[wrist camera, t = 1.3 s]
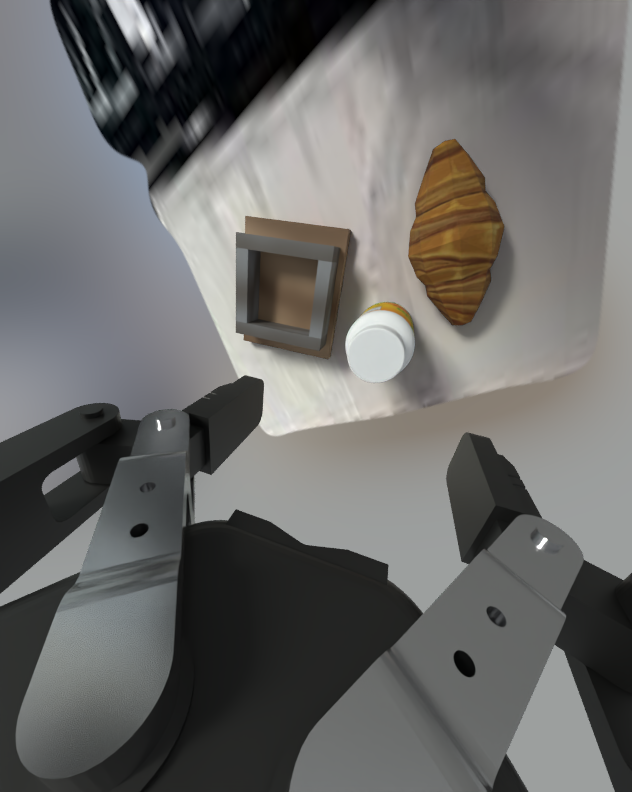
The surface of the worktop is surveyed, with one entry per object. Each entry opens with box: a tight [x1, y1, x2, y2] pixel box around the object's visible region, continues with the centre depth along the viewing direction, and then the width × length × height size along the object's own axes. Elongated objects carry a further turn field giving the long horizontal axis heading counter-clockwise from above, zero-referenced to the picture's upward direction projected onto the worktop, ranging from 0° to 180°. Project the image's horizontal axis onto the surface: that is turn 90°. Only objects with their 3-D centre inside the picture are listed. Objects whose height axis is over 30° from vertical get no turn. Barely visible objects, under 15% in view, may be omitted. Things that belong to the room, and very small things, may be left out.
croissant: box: [408, 139, 504, 325], centre depth 21 cm, size 14×7×5 cm, turn 15°
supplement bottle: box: [345, 302, 415, 383], centre depth 23 cm, size 5×5×10 cm
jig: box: [236, 216, 351, 359], centre depth 27 cm, size 12×10×4 cm
